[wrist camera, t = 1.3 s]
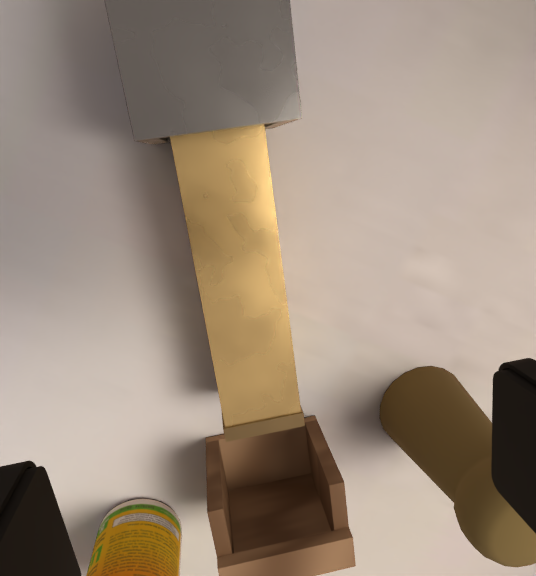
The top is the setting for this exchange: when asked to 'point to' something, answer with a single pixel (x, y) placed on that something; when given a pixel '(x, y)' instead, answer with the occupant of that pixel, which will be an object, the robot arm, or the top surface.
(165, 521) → the supplement bottle
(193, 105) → the steel sleeve
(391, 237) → the top surface
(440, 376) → the cork
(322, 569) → the walnut socket
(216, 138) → the long gold plank
